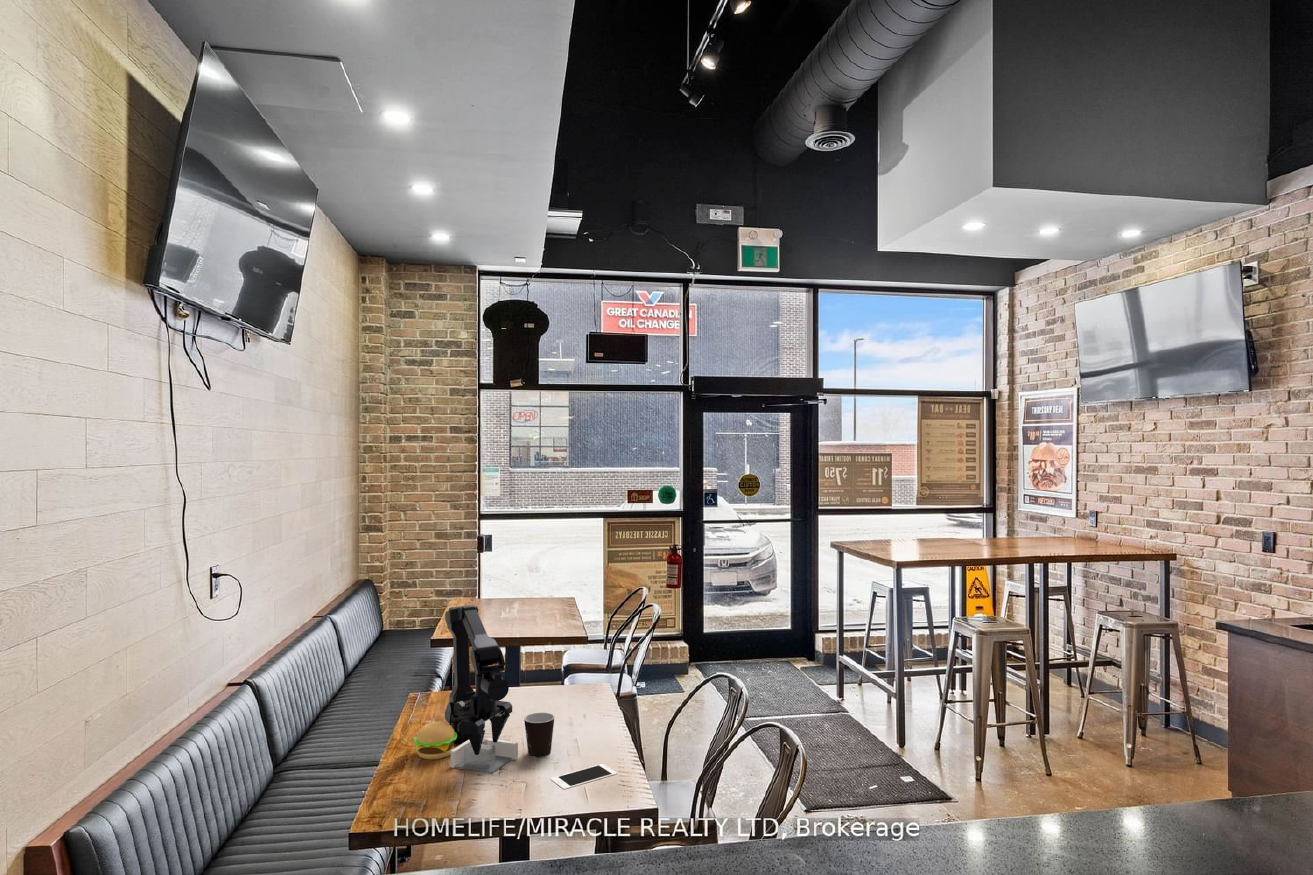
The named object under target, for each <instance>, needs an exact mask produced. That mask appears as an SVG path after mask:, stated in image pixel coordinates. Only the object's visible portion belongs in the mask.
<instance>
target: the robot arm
mask: <svg viewBox="0 0 1313 875" xmlns="http://www.w3.org/2000/svg"><path fill="white" fill-rule="evenodd" d="M479 614H480V613H479V607H478V606H477V605H475V604H472V605H471V604H470V605H461V606H454V607H453V606H451V607H449V608H448V610H447V611H446V612H445V614H444V619H445V623H446V628H447V629H448V632H449V633H450V634H451V636H452V641H453V642H452V647H453V648H452V650H453V651H452V652H453V677H454V680H453V682H454V684H453V688H452V690H451V692H450V693H449V695H448V702H447V705H446V708H445V710H444V720H445V722H446V723H448V724H449V725H451V726H452V728H453V729H454V732H456V733H457V739H456V740H455V741H454V744H457V745H461V744H463V743H464V742H466V741H467V740H470V743H471V746H472V748H473V751H474V754H475V755H479V752H480V749H481V745H482V742H483V738H485V733H486V730H485V727H486V722H487V721H490V725H491V737H492V738H491V739H493V742H494V743H496V742H497V741H498V740H500V739H499V738H500V736H501V734H502V733H503V732H502V731H503V730H504V727H505V725H506V723H507V721H508V719H509V718H510V716H511V713H513V705H512V703H511V702H510V701H505V700H503V699H505V698H506V696H507V695H508V693H509V690H510V688H509V684H508V682H507V680H506V679H505V678H503V676H502V675H503V674H502V673H501V672H505V670H506V661H505V657H504V654H503V651H502V650H501V647H500V646H499V645H498V642H497V641H496V640H495V638H493V637H490V636H488V633H487V631H486V628H485V626H484V623H483V622H482V620H481V617H480V615H479ZM470 644H471V651H470ZM470 662H471V664H470ZM470 666H472V667H473V670H474V673H475V676H474V677H475V683H474V684H475V689H473V687H472V686H471V669H470V668H471V667H470Z"/></svg>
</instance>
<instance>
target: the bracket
mask: <svg viewBox="0 0 1313 875" xmlns="http://www.w3.org/2000/svg"><path fill="white" fill-rule="evenodd" d="M485 738H486V737H484V738H483V742H482V745H481V749H480V752H479V755H475V754H474V751H473V748H472V746H471V743H469V744H467V745H466V746H464V765H467V766H473V767H480V768H487V769H490V768H491V767H493V766H494V765H495V746H491V745H487V739H485Z"/></svg>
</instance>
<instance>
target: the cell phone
mask: <svg viewBox="0 0 1313 875" xmlns="http://www.w3.org/2000/svg"><path fill="white" fill-rule="evenodd" d="M617 774H618V773H617V771H615V770H613V769H612V768H610V767H609V766H607V765H606V764H603V763H601V764H596V765H592V766H589V767H585V768H582V769H578V770H574V771H571V772H568V773H565V774H559V775H558V776H553V777H551V778H550V780H551V781H552V782H553V783H554V784H556V785H557V786H558V787H560V788H561V789H562V790H568V789H571V787H572V788H574V787H578V786H581V785H585V784H589V783H592V782H595V781H597V780H598V781H599V780H602V779H606V778H609V777H612V776H616V775H617Z"/></svg>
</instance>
